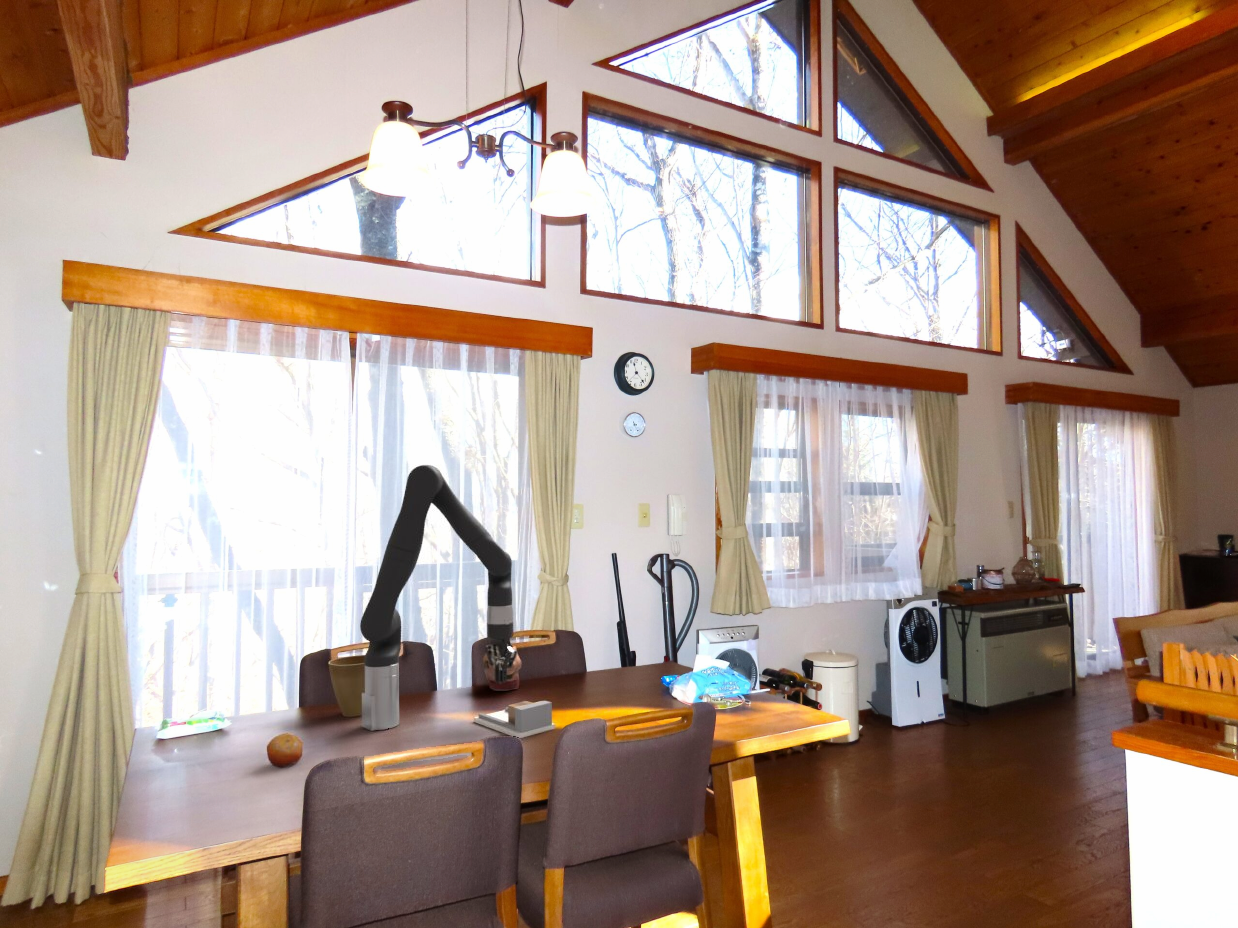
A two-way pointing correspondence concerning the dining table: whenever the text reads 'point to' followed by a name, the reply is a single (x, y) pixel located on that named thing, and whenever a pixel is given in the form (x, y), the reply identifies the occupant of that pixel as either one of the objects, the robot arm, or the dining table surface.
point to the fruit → (284, 750)
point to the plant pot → (348, 683)
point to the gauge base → (505, 730)
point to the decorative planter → (511, 674)
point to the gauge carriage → (512, 710)
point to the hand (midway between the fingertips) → (500, 681)
